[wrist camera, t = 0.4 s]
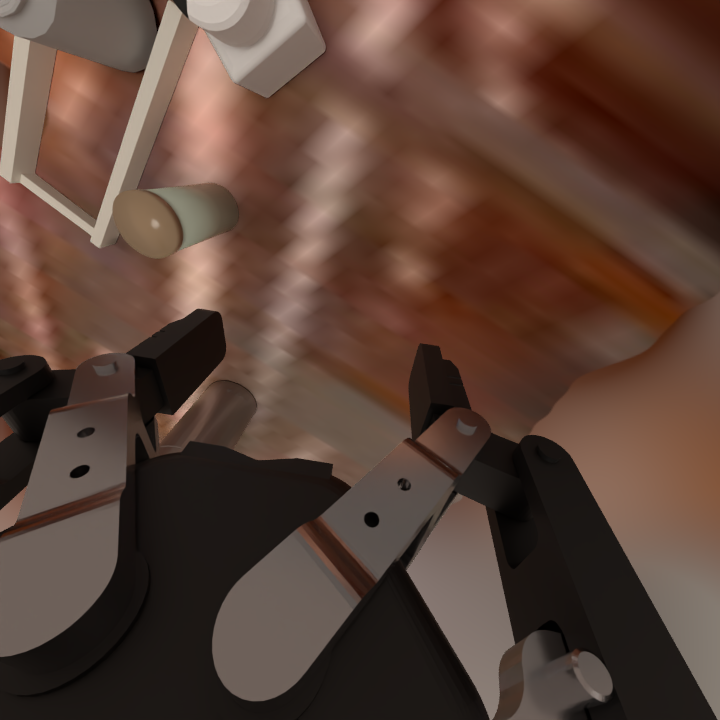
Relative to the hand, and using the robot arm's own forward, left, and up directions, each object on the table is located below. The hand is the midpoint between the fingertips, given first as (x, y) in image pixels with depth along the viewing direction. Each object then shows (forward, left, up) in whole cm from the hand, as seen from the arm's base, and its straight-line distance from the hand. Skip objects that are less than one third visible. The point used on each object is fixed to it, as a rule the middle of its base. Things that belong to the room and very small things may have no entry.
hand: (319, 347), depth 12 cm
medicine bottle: (+5, +18, -27) cm, 33 cm away
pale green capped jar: (-12, +15, -27) cm, 33 cm away
